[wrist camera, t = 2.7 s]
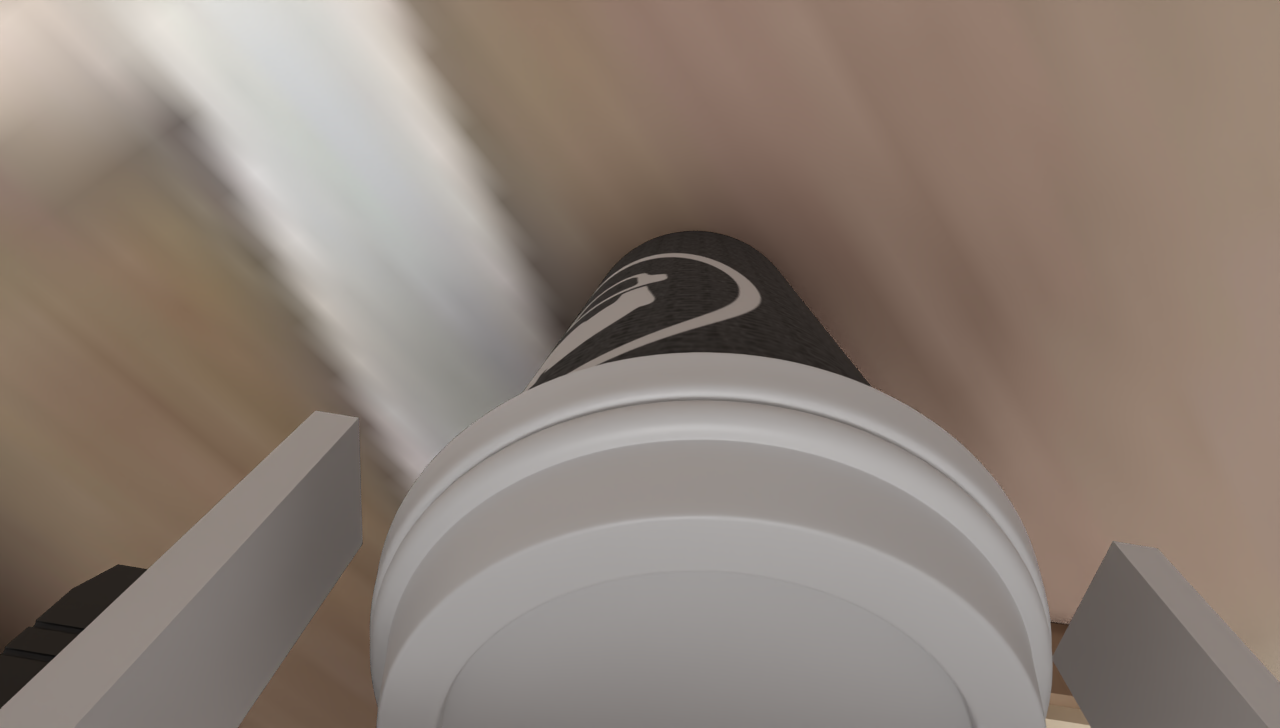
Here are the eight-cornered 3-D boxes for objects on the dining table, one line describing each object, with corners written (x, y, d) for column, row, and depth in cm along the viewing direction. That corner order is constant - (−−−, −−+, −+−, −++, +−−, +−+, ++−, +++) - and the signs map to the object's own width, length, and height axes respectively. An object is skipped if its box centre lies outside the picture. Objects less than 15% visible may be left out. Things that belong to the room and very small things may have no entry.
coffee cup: (571, 476, 25) (424, 1010, 11) (512, 200, 21) (175, 486, 7) (852, 450, 23) (1083, 1009, 10) (844, 155, 20) (1199, 389, 6)
